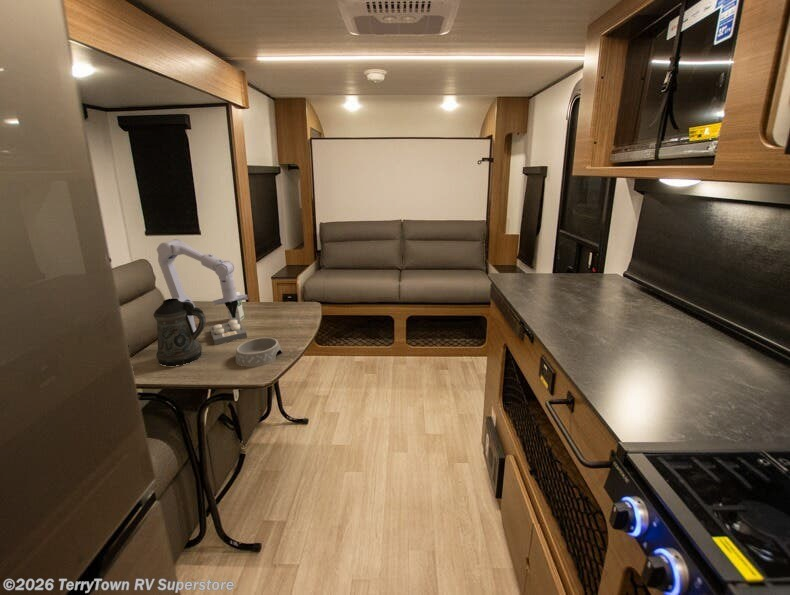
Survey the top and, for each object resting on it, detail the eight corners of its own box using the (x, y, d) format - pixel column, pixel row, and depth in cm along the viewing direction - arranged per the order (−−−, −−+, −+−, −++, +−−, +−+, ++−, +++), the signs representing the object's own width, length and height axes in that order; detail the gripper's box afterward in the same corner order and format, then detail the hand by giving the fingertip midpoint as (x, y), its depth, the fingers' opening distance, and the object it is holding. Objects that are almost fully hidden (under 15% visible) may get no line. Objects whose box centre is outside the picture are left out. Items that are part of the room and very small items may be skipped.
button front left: (215, 337, 182) (214, 331, 181) (214, 334, 185) (213, 328, 184) (225, 334, 184) (224, 329, 183) (224, 332, 187) (223, 326, 186)
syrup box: (240, 321, 204) (235, 294, 200) (229, 322, 204) (224, 294, 200) (245, 317, 210) (240, 290, 205) (233, 318, 210) (228, 291, 205)
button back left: (214, 333, 188) (213, 328, 187) (213, 331, 191) (212, 325, 191) (223, 331, 190) (222, 326, 189) (222, 329, 193) (221, 323, 192)
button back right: (230, 328, 191) (228, 323, 190) (228, 326, 194) (227, 320, 194) (238, 326, 193) (237, 321, 192) (237, 324, 196) (236, 318, 195)
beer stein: (154, 358, 167) (139, 300, 159) (203, 344, 179) (192, 289, 171) (163, 372, 155) (147, 310, 147) (215, 355, 166) (203, 297, 159)
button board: (215, 344, 177) (213, 339, 176) (210, 331, 193) (209, 325, 192) (247, 337, 183) (246, 331, 183) (239, 325, 199) (238, 319, 198)
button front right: (232, 333, 185) (231, 327, 184) (231, 330, 189) (229, 325, 188) (241, 331, 187) (240, 325, 186) (240, 328, 190) (239, 323, 190)
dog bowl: (227, 367, 156) (225, 354, 155) (250, 347, 174) (248, 335, 172) (269, 368, 154) (267, 355, 152) (288, 347, 171) (286, 335, 170)
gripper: (212, 293, 175) (218, 323, 179) (246, 287, 182) (251, 316, 186) (210, 290, 181) (216, 318, 185) (244, 284, 187) (248, 311, 192)
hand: (233, 317), depth 186 cm, fingers closed
